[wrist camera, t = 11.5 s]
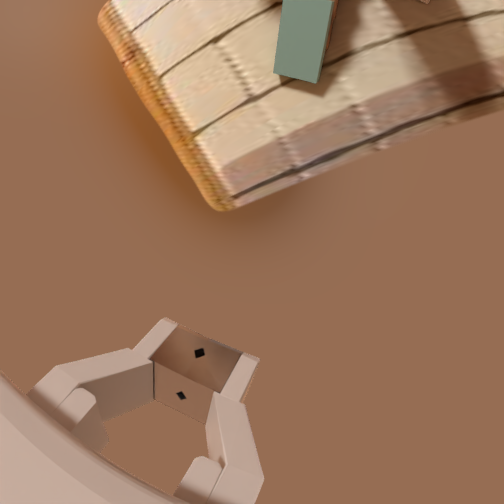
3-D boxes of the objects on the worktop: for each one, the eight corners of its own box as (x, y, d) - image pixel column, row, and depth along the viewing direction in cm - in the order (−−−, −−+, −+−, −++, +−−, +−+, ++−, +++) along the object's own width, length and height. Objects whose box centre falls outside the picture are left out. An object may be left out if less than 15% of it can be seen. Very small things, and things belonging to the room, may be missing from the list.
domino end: (319, 80, 31) (334, 1, 24) (316, 83, 30) (331, 1, 23) (277, 70, 32) (288, -8, 24) (273, 73, 31) (283, -8, 23)
